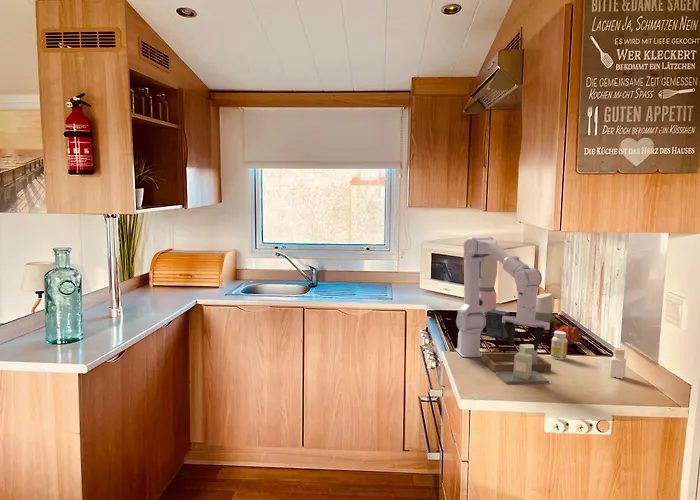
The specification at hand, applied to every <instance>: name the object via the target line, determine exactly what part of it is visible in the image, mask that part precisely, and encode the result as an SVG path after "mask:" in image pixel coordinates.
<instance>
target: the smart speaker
mask: <svg viewBox="0 0 700 500" xmlns="http://www.w3.org/2000/svg"><path fill="white" fill-rule="evenodd" d="M552 295H553V294H552V293H548V292H547V293H540V294H537V298H536V312H535V320H539V321H543V322H548V323H550V324H551V323H552V321H553V297H552Z"/></svg>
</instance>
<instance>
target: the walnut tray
mask: <svg viewBox="0 0 700 500" xmlns="http://www.w3.org/2000/svg"><path fill="white" fill-rule="evenodd" d="M517 353H518V352H491V353H490V352H489V353H487V352H486V353H484V352H483V353H482V352H481V354H482V357H481V361H482V362H483V363H484V364H485V365H486V366H487V367H488V368H490V369H491V370H492V371H493V373H496V372H506V371H513V369H514V363H506V364H505V363H496V362H497V361H498V362H499V361H503V362H504V361H514V355H516V354H517ZM495 361H496V362H495ZM551 369H552V364H551V363H550V362H548V360H546V359H544V358H542V356H540V355H539V354H537V364H532V370H531V371H537V372H538V373H541V372H543V373H545V372H551Z"/></svg>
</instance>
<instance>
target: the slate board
mask: <svg viewBox="0 0 700 500" xmlns="http://www.w3.org/2000/svg"><path fill="white" fill-rule="evenodd" d="M495 375H496V376H498V377H499V378H500V379H501V380H502V381H503V383H505V384H506V385H520V384H521V385H526V384H527V385H528V384H550V379H548V378H546V377H545V376H544V375H543V374H542V373H541V372H537V371H531V376H530V377H529V378H528V379H527V380H526V379H522V378H517V377H513V371H506V372H495Z"/></svg>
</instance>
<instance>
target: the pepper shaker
mask: <svg viewBox="0 0 700 500" xmlns="http://www.w3.org/2000/svg"><path fill="white" fill-rule="evenodd" d="M612 354H613V356H612V357H610V365H609V366H610V367H609V377H611V378H614V377H616V378H615V379H619V378H621V379H620V380H622V379H624V378H625V377H626V376H625V375H626V366H627V359H626V358H625V348H623V347H622V348H621V347H614V348H613V353H612Z"/></svg>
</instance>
